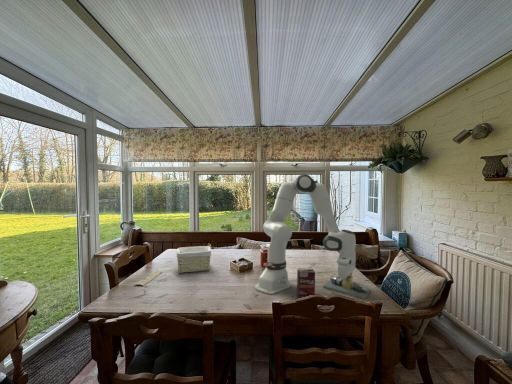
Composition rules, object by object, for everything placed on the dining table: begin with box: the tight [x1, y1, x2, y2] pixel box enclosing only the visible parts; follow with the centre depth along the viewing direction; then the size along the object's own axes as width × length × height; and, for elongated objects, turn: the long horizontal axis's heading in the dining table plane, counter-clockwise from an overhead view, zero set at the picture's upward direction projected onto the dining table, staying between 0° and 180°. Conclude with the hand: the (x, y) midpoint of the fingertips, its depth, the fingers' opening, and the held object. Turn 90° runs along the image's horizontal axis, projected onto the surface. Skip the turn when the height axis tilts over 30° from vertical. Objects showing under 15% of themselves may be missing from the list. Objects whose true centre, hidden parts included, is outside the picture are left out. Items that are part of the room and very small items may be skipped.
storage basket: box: [176, 245, 212, 274], centre depth 170 cm, size 24×16×15 cm
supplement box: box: [296, 268, 316, 299], centre depth 123 cm, size 9×5×16 cm, turn 93°
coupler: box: [342, 275, 354, 290], centre depth 137 cm, size 5×4×7 cm
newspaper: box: [133, 269, 164, 287], centre depth 153 cm, size 24×7×2 cm, turn 174°
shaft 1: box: [329, 275, 342, 286], centre depth 143 cm, size 8×5×4 cm, turn 26°
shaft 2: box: [352, 281, 369, 293], centre depth 133 cm, size 8×5×4 cm, turn 51°
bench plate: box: [322, 279, 371, 300], centre depth 137 cm, size 13×23×1 cm, turn 51°
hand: (347, 281), depth 137 cm, fingers open, 8 cm apart
